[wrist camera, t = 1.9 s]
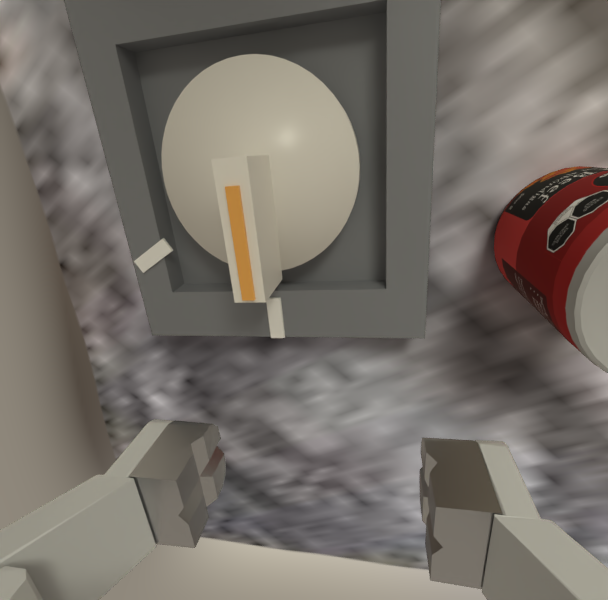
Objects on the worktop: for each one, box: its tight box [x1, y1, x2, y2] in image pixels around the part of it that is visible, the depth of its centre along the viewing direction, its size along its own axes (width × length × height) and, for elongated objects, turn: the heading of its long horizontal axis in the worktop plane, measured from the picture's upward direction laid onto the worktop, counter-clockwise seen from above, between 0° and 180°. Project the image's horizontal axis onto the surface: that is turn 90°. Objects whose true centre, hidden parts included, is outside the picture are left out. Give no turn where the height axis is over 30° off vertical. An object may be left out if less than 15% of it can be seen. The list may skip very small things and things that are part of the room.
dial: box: [161, 54, 360, 303], centre depth 20 cm, size 12×12×6 cm
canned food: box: [494, 166, 608, 373], centre depth 18 cm, size 8×8×11 cm
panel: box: [64, 0, 441, 338], centre depth 23 cm, size 22×20×3 cm
